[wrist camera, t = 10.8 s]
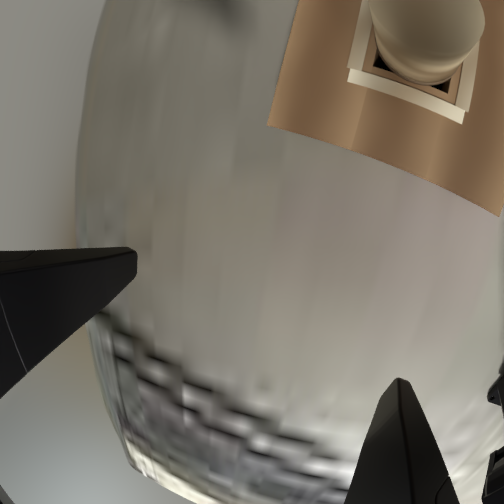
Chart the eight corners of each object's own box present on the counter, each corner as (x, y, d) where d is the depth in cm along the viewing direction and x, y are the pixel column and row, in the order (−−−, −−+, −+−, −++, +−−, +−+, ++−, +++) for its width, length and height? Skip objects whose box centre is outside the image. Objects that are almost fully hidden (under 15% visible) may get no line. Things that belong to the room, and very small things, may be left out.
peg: (454, 45, 11) (486, -18, 4) (442, 107, 13) (480, 74, 6) (384, 21, 13) (371, -55, 6) (371, 81, 15) (355, 29, 8)
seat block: (517, 24, 8) (531, 9, 5) (483, 207, 14) (499, 217, 11) (327, -38, 12) (315, -61, 10) (284, 128, 18) (266, 125, 16)
